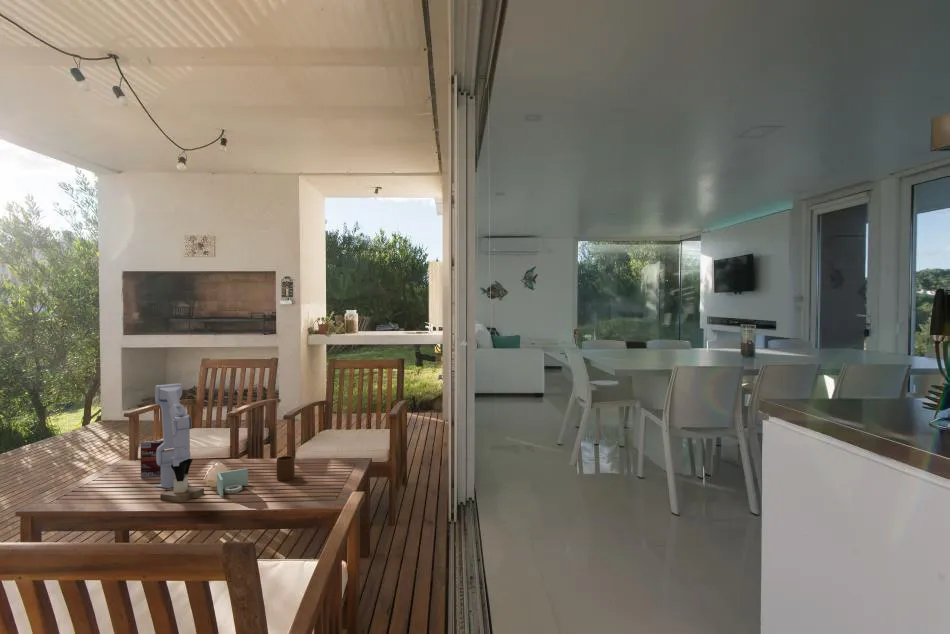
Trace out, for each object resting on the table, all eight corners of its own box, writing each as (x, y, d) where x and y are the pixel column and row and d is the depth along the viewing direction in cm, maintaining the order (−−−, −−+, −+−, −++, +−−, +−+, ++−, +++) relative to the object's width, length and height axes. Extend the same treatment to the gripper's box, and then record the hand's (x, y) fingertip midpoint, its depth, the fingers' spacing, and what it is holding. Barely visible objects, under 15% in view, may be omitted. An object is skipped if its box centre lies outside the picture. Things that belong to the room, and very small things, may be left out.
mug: (282, 473, 244) (282, 453, 244) (299, 473, 245) (299, 453, 245) (274, 481, 232) (274, 460, 232) (291, 481, 233) (291, 459, 233)
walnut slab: (184, 492, 221) (184, 485, 221) (204, 495, 217) (203, 488, 217) (160, 501, 210) (160, 494, 210) (180, 504, 207) (180, 496, 207)
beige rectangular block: (176, 489, 215) (177, 474, 215) (188, 489, 216) (188, 473, 216) (173, 493, 211) (173, 477, 211) (184, 492, 212) (184, 476, 212)
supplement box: (140, 477, 241) (139, 443, 242) (144, 474, 246) (144, 441, 246) (160, 476, 243) (160, 442, 243) (164, 473, 248) (164, 439, 248)
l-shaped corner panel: (220, 498, 213) (220, 479, 213) (217, 490, 223) (216, 472, 223) (252, 492, 219) (252, 474, 219) (247, 485, 229) (247, 468, 229)
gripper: (177, 442, 220) (177, 475, 220) (164, 450, 206) (164, 485, 206) (195, 441, 222) (196, 473, 221) (183, 449, 207) (184, 484, 207)
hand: (182, 479), depth 214 cm, fingers closed on beige rectangular block, 4 cm apart
